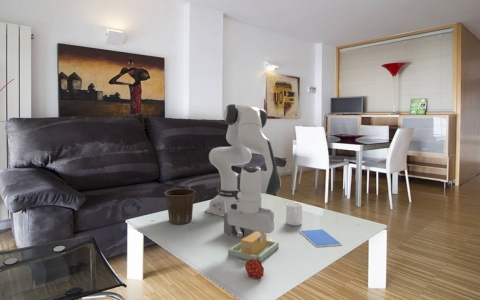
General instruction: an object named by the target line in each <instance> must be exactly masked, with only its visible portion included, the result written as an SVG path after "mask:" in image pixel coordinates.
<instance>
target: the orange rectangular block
mask: <svg viewBox="0 0 480 300" xmlns="http://www.w3.org/2000/svg"><path fill="white" fill-rule="evenodd" d="M261 235H262V234H260V232H258V231H256V232H254V233H252V234H250V235H249V236H247V237H245V238H244V237H242V239H240V242H241V252H244V253H248V254H251V255H255V254H257V253H258V252H260V251H261V250H263V249H264V248H266V240H267V233H266V234H265V235H264V237H263V241H262V242H258V237H259V236H261Z"/></svg>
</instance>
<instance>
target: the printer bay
mask: <svg viewBox="0 0 480 300" xmlns="http://www.w3.org/2000/svg"><path fill="white" fill-rule="evenodd" d="M227 218H228V211H227V212H225V213H224V216H223V234H225V235H226V234H227V235H231V236H232V235H234V234H236V233H237V231H236V229H235V226H232V225H229V224H228V221H227ZM240 230H241V231H242V232H243V234H244V235H243V236H244V237H243V238H245V237H247V236H249V235H250V234H252V233H254V232H256V231H255V230H250V229H246V228H240ZM258 232H259V231H258Z"/></svg>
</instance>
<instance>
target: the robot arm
mask: <svg viewBox="0 0 480 300" xmlns="http://www.w3.org/2000/svg"><path fill="white" fill-rule="evenodd" d="M223 118H224V119H223V120H224V122H225V124H226V125H228V127H227V131H226V135H225V139H226V141H227V143H228V144H230V146H218V147H215V148H212V149H211V150H210V151H209V153H208V160H209V162H210V164H211V165H212V166H214V167H215V168H216V169H217V170H218V173H219V176H220V184H221V185H220V188H219V189H217V192H216V193H218V194H217V195H216V196H215V197H214V198H212V199H211V200H210V201H209V205H208V207H206V208H205V210H204V211H205V212H206V213H208V214H209V213H210V214H213V215H215V216H219V217H224V213H225V212H227V211H228V218H227V221H228V224H229V225H232V226H235V229H236V231H237V232H236V233H237V237H238V238H243V236H244V235H243V234H244V231H242V230H240V228H246V229H250V230H255V231H259V232H260V234H262V235H261V236H259V237H258V242H262V241H263V237H264V235H265V234H266V235H269V234H271V233H272V232H274V230H275V222H274V221H275V220H274V218H275V214H274V213H275V212H274V211H272V210H271V209H269V208H263V207H262V204H263V203H262V194H266V195H276V193H278V192H279V191H280V190H281V187H282V185H281V184H282V182H281V177H280V174H279V171H278V168H277V163H276V159H275V156H274V151H273V148H272V143H271V141H270V139H268V137H266V136H265V135H264V133H263V128H264V127H265V126H266V124H267V120H268V113H267V111H266V110H265V109H263V108H259V107H256V106H251V105H242V104H227V106H226V107H225V108H224V111H223ZM251 150H252V151H255V152H257V153H259V154H260V155H262V156H263V158H264V162H265V167H266V170H261V168H260V166H257V165H255V164H254V165H253V164H249V163H250V162H251V160H252V157H253V155H252V151H251ZM246 164H248V165H246ZM242 165H244V166H243V167H242V168H241V171H240V172H239V173H237V172H236V171H235V170H233V169H232V166H242Z"/></svg>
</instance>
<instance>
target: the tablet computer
mask: <svg viewBox="0 0 480 300" xmlns="http://www.w3.org/2000/svg"><path fill="white" fill-rule="evenodd" d="M299 233H300V234H301V235H302V236H303V237H304V238H306V239H307V240H308V241H309V242H310V243H311V244H312V246H313V247H315V248H327V247H341V246H343V245H342V243H341V242H339V240H337V239H336V238H334V237H333V236H332V235H331V234H330V233H328V232H327V231H326V230H324V229H310V230H309V229H308V230H300V231H299Z"/></svg>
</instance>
